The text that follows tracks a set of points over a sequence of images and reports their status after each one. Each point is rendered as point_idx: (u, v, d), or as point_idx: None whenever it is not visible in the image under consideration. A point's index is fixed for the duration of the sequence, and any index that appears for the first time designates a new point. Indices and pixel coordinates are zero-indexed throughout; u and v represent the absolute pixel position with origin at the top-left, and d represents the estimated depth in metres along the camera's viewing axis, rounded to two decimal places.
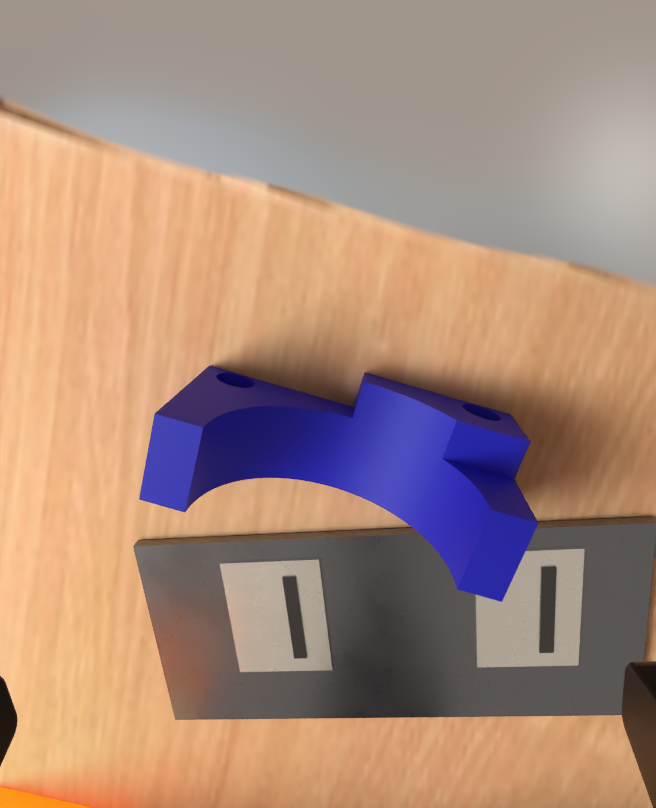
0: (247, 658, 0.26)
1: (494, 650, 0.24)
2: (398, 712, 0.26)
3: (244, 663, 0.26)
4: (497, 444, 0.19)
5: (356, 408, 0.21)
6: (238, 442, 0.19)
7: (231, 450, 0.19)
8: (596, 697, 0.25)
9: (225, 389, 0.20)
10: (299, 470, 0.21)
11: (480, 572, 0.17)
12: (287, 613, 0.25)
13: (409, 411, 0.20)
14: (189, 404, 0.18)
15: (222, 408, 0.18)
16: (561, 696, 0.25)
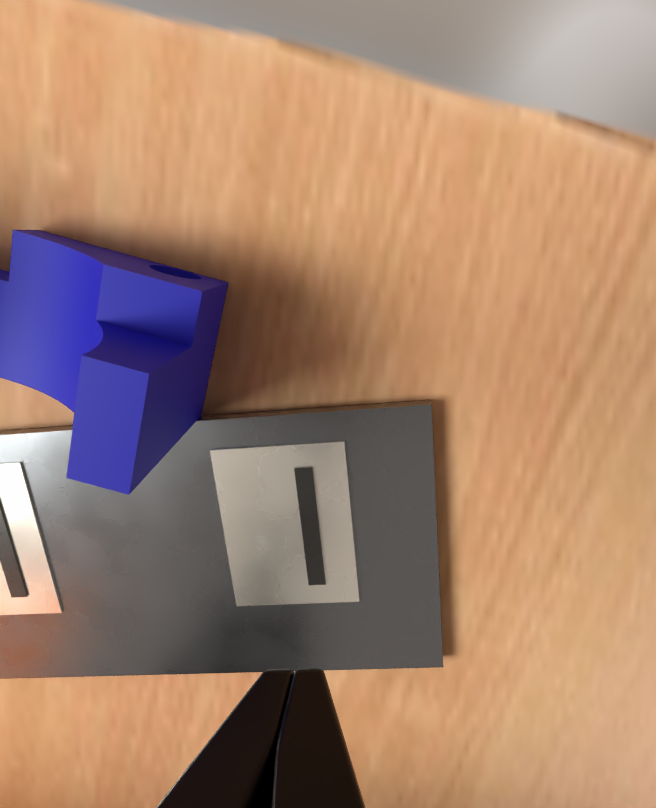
0: None
1: (253, 583, 0.19)
2: (152, 668, 0.21)
3: None
4: (161, 297, 0.14)
5: (12, 268, 0.16)
6: None
7: None
8: (388, 644, 0.20)
9: None
10: None
11: (90, 451, 0.12)
12: None
13: (67, 265, 0.15)
14: None
15: None
16: (346, 644, 0.20)
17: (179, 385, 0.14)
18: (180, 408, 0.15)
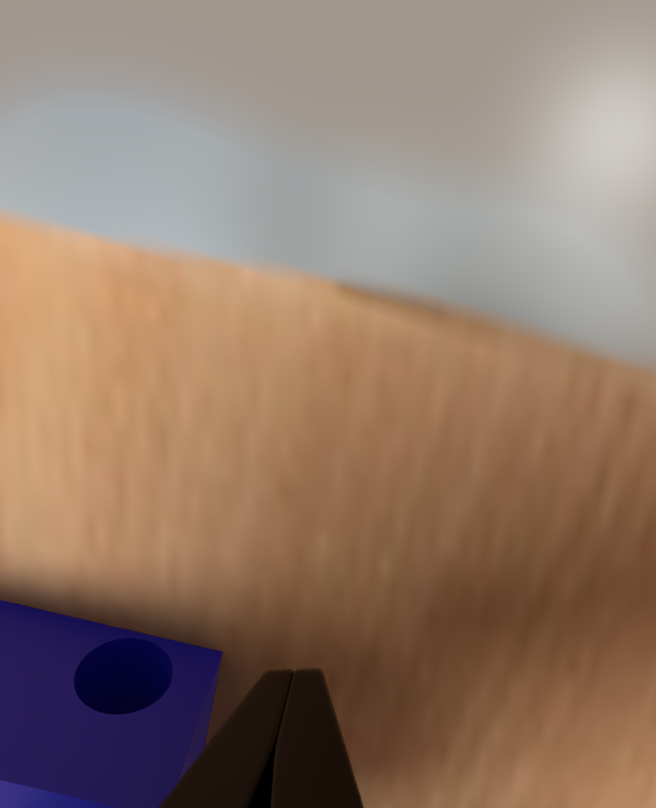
0: None
1: None
2: None
3: None
4: None
5: None
6: None
7: None
8: None
9: None
10: None
11: None
12: None
13: None
14: None
15: None
16: None
17: None
18: None
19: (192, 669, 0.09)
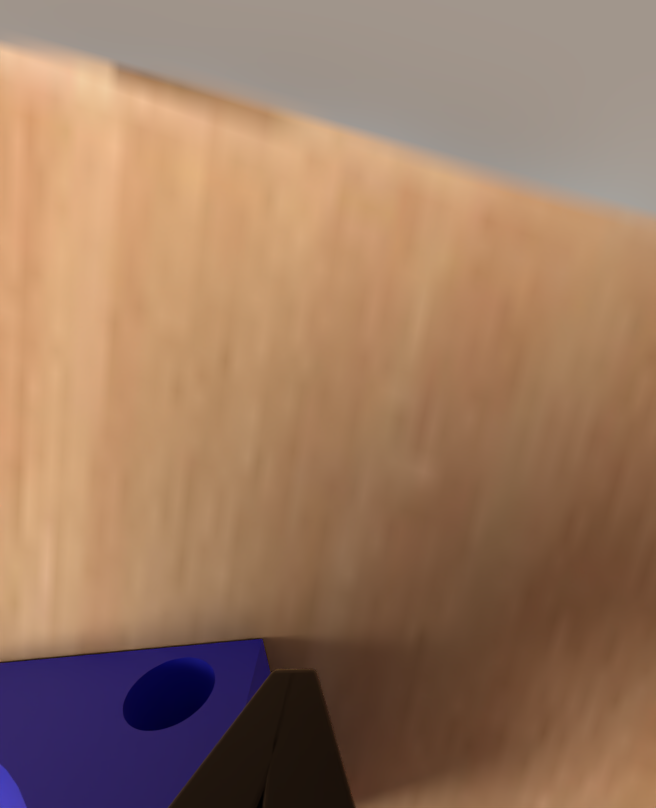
0: None
1: None
2: None
3: None
4: None
5: None
6: None
7: None
8: None
9: None
10: None
11: None
12: None
13: None
14: None
15: None
16: None
17: None
18: None
19: (233, 669, 0.09)
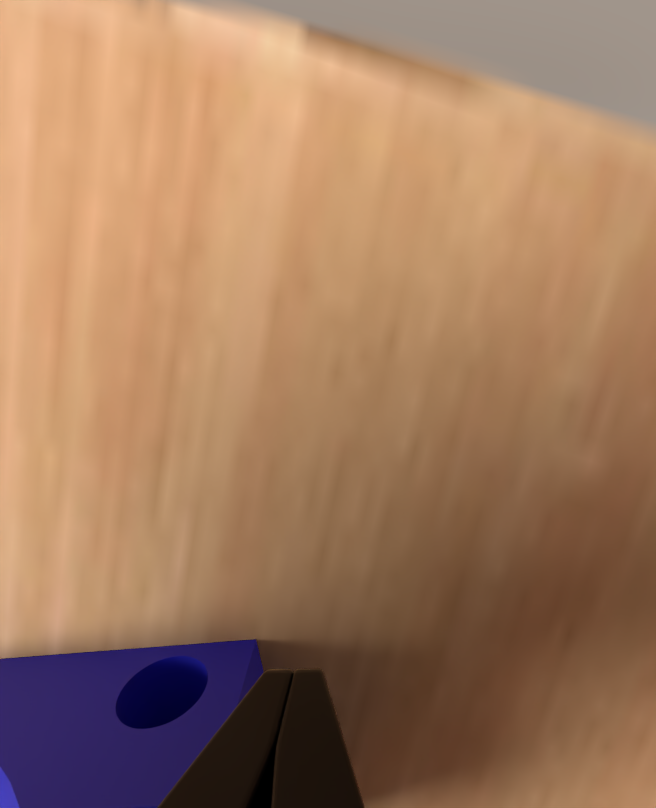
0: None
1: None
2: None
3: None
4: None
5: None
6: None
7: None
8: None
9: None
10: None
11: None
12: None
13: None
14: None
15: None
16: None
17: None
18: None
19: (226, 668, 0.09)
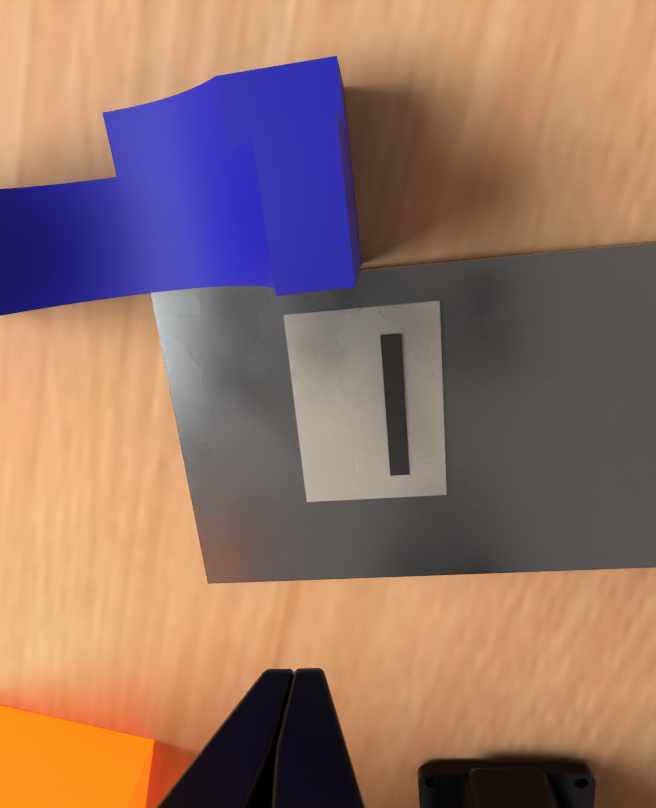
0: (319, 479, 0.17)
1: None
2: (540, 563, 0.18)
3: (313, 487, 0.17)
4: (292, 86, 0.12)
5: (115, 160, 0.14)
6: None
7: None
8: None
9: None
10: (89, 287, 0.15)
11: (294, 247, 0.10)
12: (384, 398, 0.16)
13: (173, 120, 0.13)
14: None
15: None
16: None
17: (348, 179, 0.12)
18: (353, 220, 0.13)
19: None
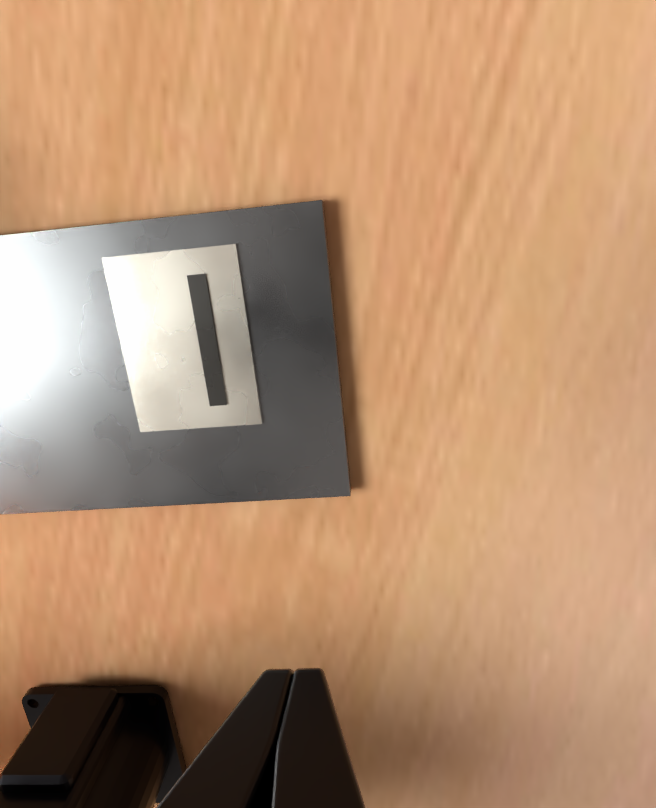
0: None
1: (155, 405, 0.19)
2: (62, 504, 0.21)
3: None
4: None
5: None
6: None
7: None
8: (294, 472, 0.20)
9: None
10: None
11: None
12: None
13: None
14: None
15: None
16: (252, 472, 0.20)
17: None
18: None
19: None
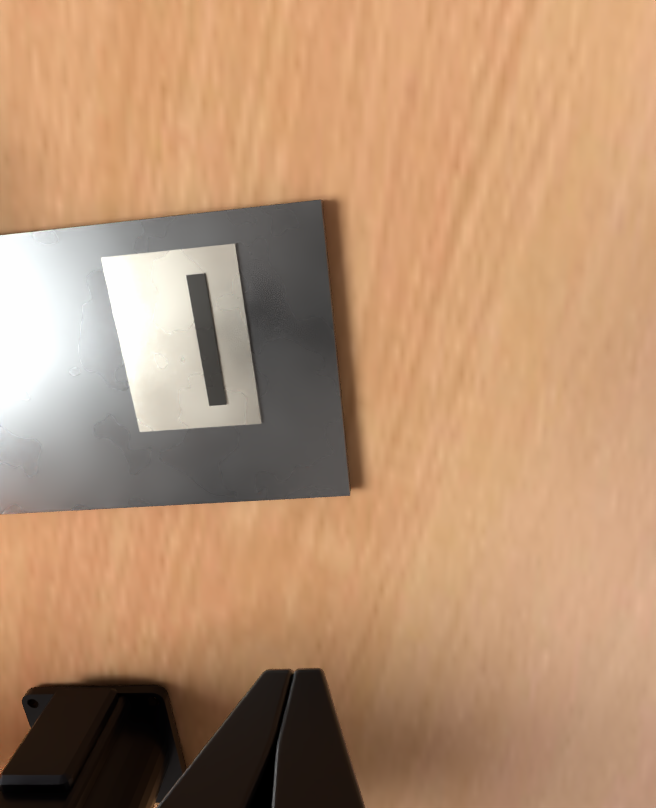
0: None
1: (155, 405, 0.19)
2: (62, 503, 0.21)
3: None
4: None
5: None
6: None
7: None
8: (294, 472, 0.20)
9: None
10: None
11: None
12: None
13: None
14: None
15: None
16: (251, 472, 0.20)
17: None
18: None
19: None
